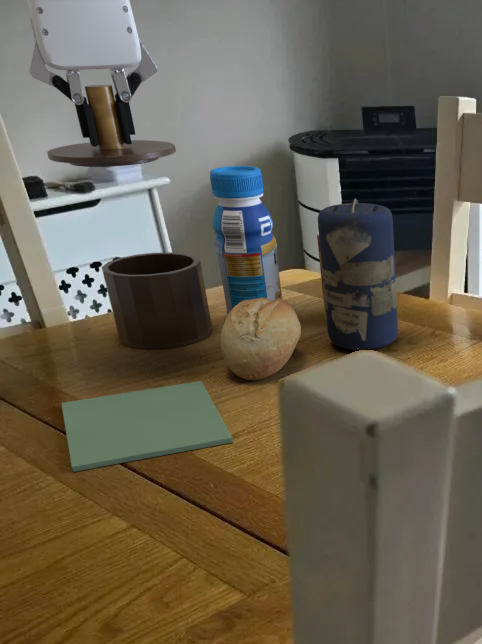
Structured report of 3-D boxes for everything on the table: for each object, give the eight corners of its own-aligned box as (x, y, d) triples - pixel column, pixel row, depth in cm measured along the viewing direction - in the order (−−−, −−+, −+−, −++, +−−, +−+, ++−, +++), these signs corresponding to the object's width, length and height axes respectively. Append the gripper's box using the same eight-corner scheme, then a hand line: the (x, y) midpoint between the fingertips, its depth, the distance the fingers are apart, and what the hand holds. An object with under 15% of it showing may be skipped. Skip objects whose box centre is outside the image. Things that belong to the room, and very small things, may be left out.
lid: (54, 173, 86) (33, 93, 82) (46, 156, 97) (27, 84, 92) (186, 163, 91) (173, 87, 87) (166, 148, 101) (153, 79, 97)
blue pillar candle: (318, 352, 110) (302, 205, 99) (342, 330, 117) (330, 190, 107) (387, 357, 108) (378, 207, 97) (407, 334, 115) (401, 193, 105)
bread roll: (311, 343, 113) (304, 283, 108) (295, 384, 101) (286, 318, 96) (241, 344, 113) (231, 284, 108) (216, 385, 101) (204, 319, 96)
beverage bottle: (217, 320, 121) (190, 169, 110) (267, 309, 126) (247, 162, 114) (246, 334, 116) (221, 176, 104) (297, 321, 121) (279, 169, 109)
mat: (73, 472, 82) (71, 466, 82) (62, 407, 96) (61, 402, 95) (233, 442, 87) (232, 437, 87) (202, 385, 101) (201, 380, 100)
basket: (125, 354, 110) (107, 280, 104) (115, 327, 119) (98, 258, 114) (219, 340, 114) (207, 269, 109) (203, 315, 124) (190, 248, 118)
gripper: (143, -62, 88) (178, 135, 98) (-26, -65, 82) (31, 145, 93) (154, -67, 82) (190, 143, 93) (-26, -70, 77) (35, 153, 87)
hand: (110, 142), depth 93 cm, fingers closed on lid, 2 cm apart
